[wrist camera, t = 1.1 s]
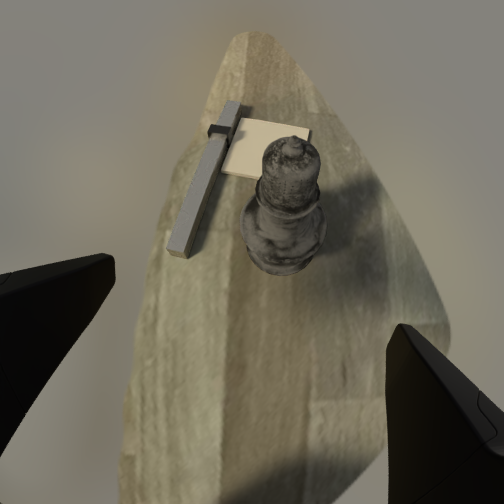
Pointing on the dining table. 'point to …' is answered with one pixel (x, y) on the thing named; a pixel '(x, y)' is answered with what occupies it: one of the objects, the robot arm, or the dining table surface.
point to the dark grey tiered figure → (285, 209)
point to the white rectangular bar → (203, 181)
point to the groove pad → (255, 145)
